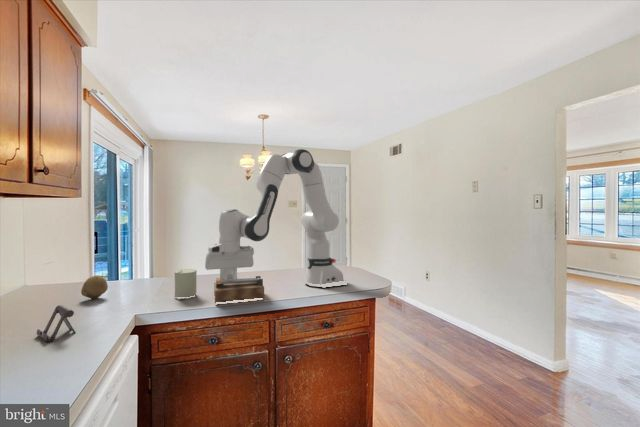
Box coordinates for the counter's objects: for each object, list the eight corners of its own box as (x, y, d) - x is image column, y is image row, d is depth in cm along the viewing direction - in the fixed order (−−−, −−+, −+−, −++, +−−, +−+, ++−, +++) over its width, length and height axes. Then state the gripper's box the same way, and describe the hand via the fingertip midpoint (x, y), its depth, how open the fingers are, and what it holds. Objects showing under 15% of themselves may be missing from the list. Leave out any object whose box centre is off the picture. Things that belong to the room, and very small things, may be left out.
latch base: (258, 292, 147) (258, 274, 147) (264, 300, 134) (264, 281, 134) (214, 295, 140) (214, 277, 140) (215, 305, 127) (215, 284, 127)
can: (169, 297, 137) (169, 270, 137) (187, 292, 145) (187, 267, 145) (183, 300, 133) (183, 272, 132) (201, 295, 141) (201, 269, 140)
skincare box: (232, 290, 150) (232, 258, 149) (218, 290, 150) (219, 258, 149) (237, 285, 158) (237, 255, 158) (224, 285, 158) (224, 255, 158)
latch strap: (260, 280, 142) (260, 276, 142) (261, 282, 138) (261, 278, 138) (215, 282, 136) (215, 278, 136) (216, 285, 132) (216, 280, 132)
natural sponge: (113, 296, 137) (113, 274, 137) (93, 303, 128) (93, 279, 128) (97, 295, 139) (97, 273, 139) (77, 300, 131) (77, 277, 130)
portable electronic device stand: (36, 336, 96) (36, 309, 96) (67, 328, 102) (67, 303, 102) (46, 344, 91) (45, 315, 91) (78, 334, 98) (78, 308, 97)
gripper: (252, 244, 142) (252, 274, 142) (205, 246, 135) (205, 278, 135) (254, 246, 136) (254, 278, 136) (205, 248, 129) (205, 281, 129)
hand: (229, 278), depth 136 cm, fingers closed
